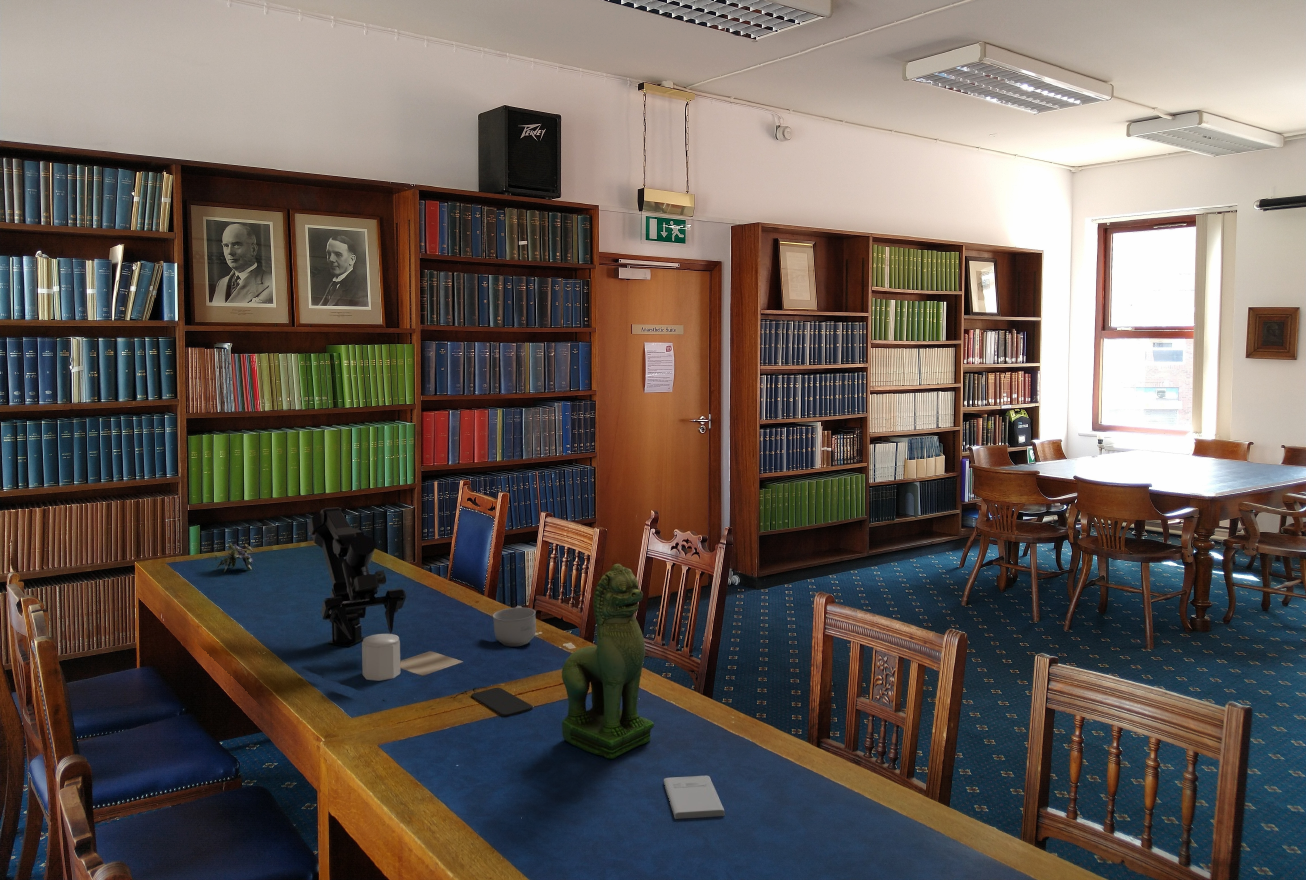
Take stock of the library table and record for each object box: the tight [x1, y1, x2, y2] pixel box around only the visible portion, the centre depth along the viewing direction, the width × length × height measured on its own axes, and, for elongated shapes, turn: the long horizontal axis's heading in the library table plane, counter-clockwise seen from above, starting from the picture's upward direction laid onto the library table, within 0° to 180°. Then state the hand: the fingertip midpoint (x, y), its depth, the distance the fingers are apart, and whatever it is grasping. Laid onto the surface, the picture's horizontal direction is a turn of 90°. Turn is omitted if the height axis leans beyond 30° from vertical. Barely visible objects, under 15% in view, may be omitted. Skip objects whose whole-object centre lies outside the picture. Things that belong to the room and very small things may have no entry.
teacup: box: [492, 605, 537, 647], centre depth 237 cm, size 14×11×8 cm
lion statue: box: [561, 563, 655, 760], centre depth 177 cm, size 14×17×35 cm
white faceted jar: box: [361, 633, 401, 682], centre depth 208 cm, size 8×8×10 cm
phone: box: [470, 687, 534, 718], centre depth 197 cm, size 7×1×15 cm
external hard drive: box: [663, 775, 726, 820], centre depth 156 cm, size 2×8×12 cm
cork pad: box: [400, 650, 464, 677], centre depth 216 cm, size 12×12×2 cm
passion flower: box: [214, 542, 254, 573], centre depth 307 cm, size 11×11×12 cm
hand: (371, 635), depth 215 cm, fingers open, 9 cm apart
